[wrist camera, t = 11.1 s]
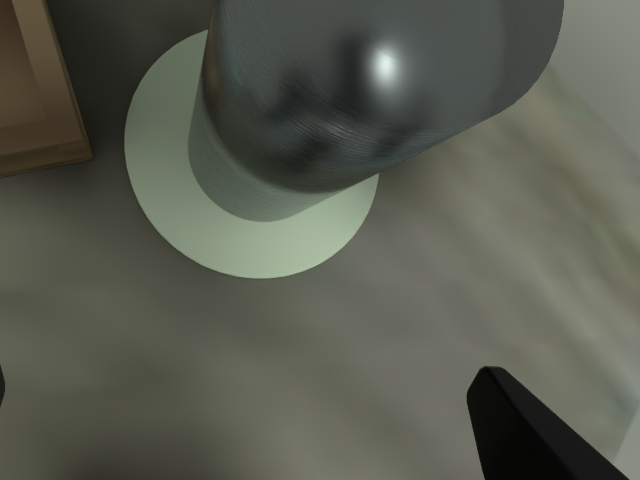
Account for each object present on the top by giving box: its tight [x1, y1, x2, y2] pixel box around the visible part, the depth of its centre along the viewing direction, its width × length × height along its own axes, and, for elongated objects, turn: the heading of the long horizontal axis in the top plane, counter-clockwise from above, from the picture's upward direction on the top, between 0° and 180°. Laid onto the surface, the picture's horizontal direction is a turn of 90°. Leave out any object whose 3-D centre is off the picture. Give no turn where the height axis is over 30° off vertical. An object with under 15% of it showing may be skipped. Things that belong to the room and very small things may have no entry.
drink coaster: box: [124, 30, 379, 278], centre depth 19 cm, size 10×10×1 cm
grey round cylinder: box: [188, 0, 564, 222], centre depth 13 cm, size 6×6×12 cm
